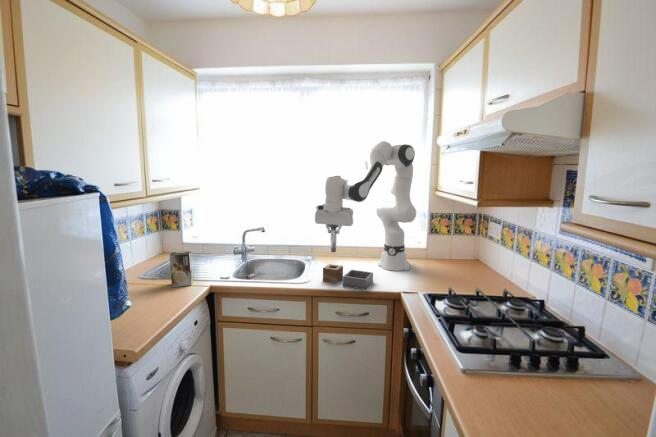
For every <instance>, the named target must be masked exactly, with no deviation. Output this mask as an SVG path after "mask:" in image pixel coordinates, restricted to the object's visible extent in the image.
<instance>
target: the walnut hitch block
mask: <svg viewBox="0 0 656 437" xmlns="http://www.w3.org/2000/svg"><path fill="white" fill-rule="evenodd" d="M343 276H344V265H339V264H332V263H331V264H330V263H328V264H326V266H324V267H322V281H323V282H326V283H334V284H338V283H340V281H343Z"/></svg>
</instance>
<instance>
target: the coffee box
mask: <svg viewBox="0 0 656 437" xmlns="http://www.w3.org/2000/svg"><path fill="white" fill-rule="evenodd" d="M192 262H193V261H192V252H191V251H175V252H171V253H170V254H169V265H170V266H169V267H170V268H169V269H170V279H171V280H170V281H171V287H172V288H179V287H188V286H189V287H190V286H192V285H193V282H194V279H193V278H194V277H193V266H192V264H193V263H192Z"/></svg>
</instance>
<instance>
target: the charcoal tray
mask: <svg viewBox="0 0 656 437" xmlns="http://www.w3.org/2000/svg"><path fill="white" fill-rule="evenodd" d="M373 282H374V272H373V271H371V272H370V271H363V270H358V269H357V270H356V269H350V270H349V271H347V272H346V273H345V274H343V279H342V286H343V287H348V288H349V287H350V288H354V289H360V290H367V289H369V287H370V286H371V285H372V283H373Z"/></svg>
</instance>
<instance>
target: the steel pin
mask: <svg viewBox="0 0 656 437" xmlns="http://www.w3.org/2000/svg"><path fill="white" fill-rule="evenodd" d="M329 228H330V229H331V233H330V253H337V234H336V230H338V228H339V227H338V225H329Z"/></svg>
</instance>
